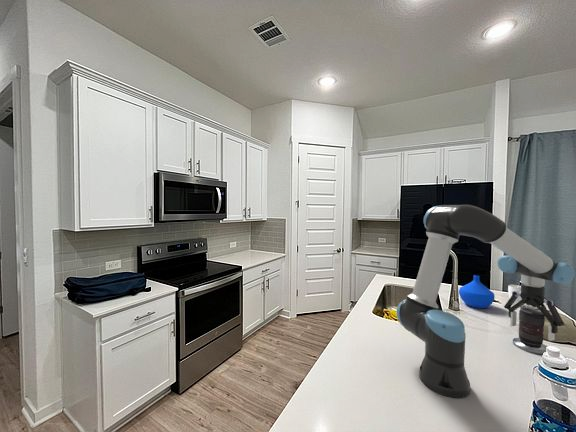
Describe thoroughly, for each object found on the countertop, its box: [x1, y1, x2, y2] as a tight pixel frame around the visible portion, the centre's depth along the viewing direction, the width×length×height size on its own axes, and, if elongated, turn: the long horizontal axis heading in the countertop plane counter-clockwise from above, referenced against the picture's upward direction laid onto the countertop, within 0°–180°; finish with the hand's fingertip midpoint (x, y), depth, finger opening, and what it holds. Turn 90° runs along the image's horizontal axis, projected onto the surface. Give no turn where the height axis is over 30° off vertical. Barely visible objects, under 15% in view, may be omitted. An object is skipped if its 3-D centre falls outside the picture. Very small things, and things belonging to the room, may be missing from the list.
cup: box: [507, 284, 525, 308], centre depth 161 cm, size 9×9×12 cm
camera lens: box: [518, 307, 546, 348], centre depth 110 cm, size 8×8×15 cm
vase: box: [458, 274, 496, 309], centre depth 159 cm, size 18×18×19 cm
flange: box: [512, 337, 548, 356], centre depth 110 cm, size 12×12×1 cm
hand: (531, 332), depth 110 cm, fingers open, 13 cm apart
